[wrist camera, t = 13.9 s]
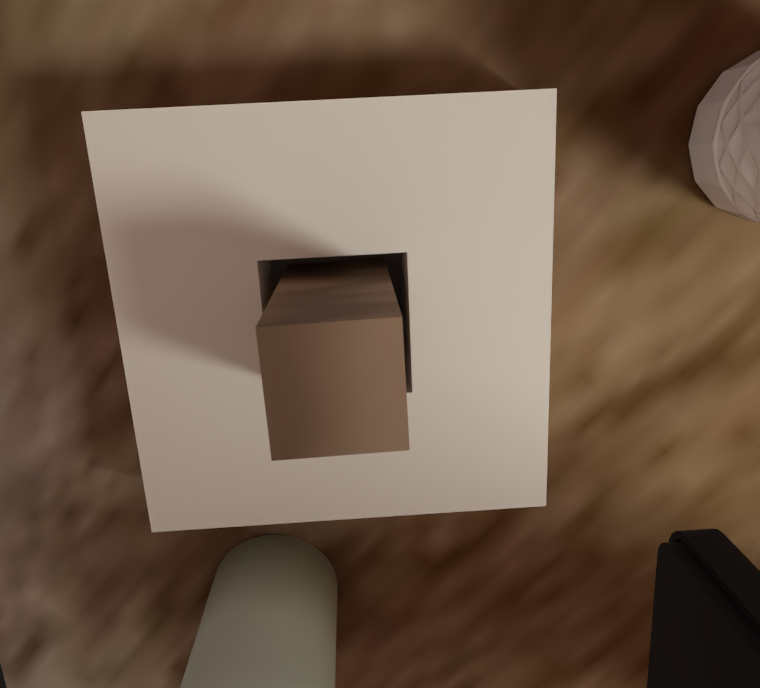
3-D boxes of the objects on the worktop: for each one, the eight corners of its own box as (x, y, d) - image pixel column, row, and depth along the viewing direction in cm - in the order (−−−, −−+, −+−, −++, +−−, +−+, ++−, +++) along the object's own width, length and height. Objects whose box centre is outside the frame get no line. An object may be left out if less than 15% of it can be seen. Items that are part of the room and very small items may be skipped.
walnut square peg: (384, 257, 28) (402, 316, 18) (389, 349, 29) (409, 450, 19) (287, 264, 28) (255, 327, 18) (297, 356, 29) (271, 461, 19)
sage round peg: (333, 530, 32) (328, 652, 24) (341, 635, 33) (339, 780, 26) (206, 539, 32) (160, 665, 24) (221, 643, 33) (183, 793, 26)
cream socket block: (527, 96, 26) (556, 88, 23) (522, 461, 31) (546, 506, 27) (120, 116, 26) (81, 111, 22) (176, 483, 31) (151, 532, 27)
